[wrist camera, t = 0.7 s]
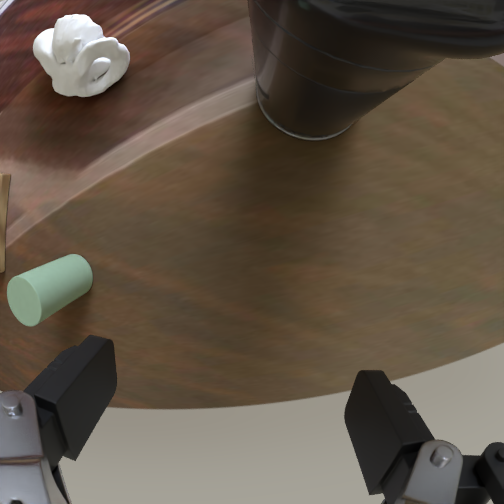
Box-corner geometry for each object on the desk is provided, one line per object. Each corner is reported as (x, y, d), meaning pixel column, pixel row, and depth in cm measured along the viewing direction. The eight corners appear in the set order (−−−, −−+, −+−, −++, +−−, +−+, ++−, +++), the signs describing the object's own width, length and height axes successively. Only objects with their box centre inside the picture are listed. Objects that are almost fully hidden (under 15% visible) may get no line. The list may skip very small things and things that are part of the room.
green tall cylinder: (61, 249, 29) (5, 270, 20) (94, 259, 29) (40, 285, 20) (60, 287, 30) (8, 316, 21) (91, 299, 30) (42, 333, 21)
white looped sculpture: (43, 57, 25) (37, 1, 17) (136, 57, 29) (146, -2, 21) (17, 110, 22) (-1, 50, 15) (122, 109, 26) (127, 43, 19)
